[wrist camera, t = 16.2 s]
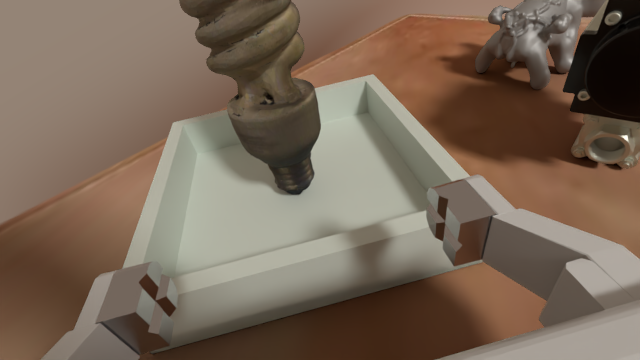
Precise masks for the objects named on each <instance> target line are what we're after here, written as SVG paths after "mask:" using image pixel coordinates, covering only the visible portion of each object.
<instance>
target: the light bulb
mask: <svg viewBox="0 0 640 360" xmlns="http://www.w3.org/2000/svg"><path fill="white" fill-rule="evenodd" d="M179 1H180V6H181V8H182V10H183V11H184V12H185V13H187V14H188V15H190V16H192V17H196V18H198V19H199V22H200V23H199V27H198V29H197V30H196V32H195V35H196V39H197V40H198V42H199V43H200V44H202V45H204V46H206V47H209V48H211V49H212V51H211V53H210V56H209V57H208V58H207V61H206V63H207V66H208V68H209V69H210V70H211V71H213V72H215V73H218V74H223V75H227V76H230V77H232V78H233V79H234V80H235V81H236V82H237V84H238V94H237V95H236V96H235V97H234V98H232V99H231V100H230V101H229V103H228V105H227V112H228V115H229V118H230V120H231V123H232V126H233V128H234V130H235V132H236V134H237V136H238V138H239V140H240V142H241V144H242V146H243V147H244V148H245V150H246V151H247V152H248V153H249V154H250V155H252V156H253V157H255V158H257V159H259V160H261V161H262V162H264V163H266V164H268V167H269V169H270V170H271V171H272V173H273V175H274V177H275V183H276V184H277V187H278V188H279V189H281V190H284V191H286V192H287V193H289V194H293V195H300V194H301V193H302V192H303V190H306V189H307V188H308V187H309V186H310V183H311V181H312V180H313V178H314V174H315V173H314V170H313V166H312V162H311V159H310V158H311V150H312V148H313V146H314V144H315V143H316V141H317V139H318V137H319V134H320V130H321V122H320V114H319V108H318V101H317V97H316V92H315V88H314V86H313V85H312V84H311V83H310V82H308V81H306V80H301V79H298V78H291V72H290V71H291V68H292V66H294V65H295V64H296V63H297V62H298V61H299V59H300V58H301V56H302V54H303V52H304V42H303V39H302V37H301V36H300V34H299V33H298V32H297V30H298V26H299V23H300V16H299V11H298V9H297V8H296V6H295V4H294V3H292V2H291V0H179Z"/></svg>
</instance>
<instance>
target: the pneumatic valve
mask: <svg viewBox="0 0 640 360" xmlns="http://www.w3.org/2000/svg"><path fill="white" fill-rule="evenodd" d="M563 92H567V93H574V94H575V96H574V99H573V102H572V105H571V108H570V111H571V112H577V113H583V114H585V115H584V117H583V122H584V123H585V125H583V126H582V128H581V130H580V132H579V134H578V136H577V138H576V140H575V142H574V144H573V146H572V148H571V153H572V155H574V157H578V158H581V157H585V156H588V158H589V159H591V160H593V161H596V162H600V163H605V164H615V163H617V164H618V165H619V166H620V167H622V168H626V169H628V168H632V167H634V166H636V165H637V163H638V160H639V156H640V0H606V1H605V2H604V4H603V5H602V7H601V8H600V9H599V11H598V12H597V14H596V15H595V16H594V18H593V19H592V21H591V22H590V23H589V25H588V26H587V28H586V29H585V30H584V32H583V33H582V35H581V36H580V39H579V42H578V45H577V48H576V51H575V54H574V58H573V61H572V64H571V67H570V70H569V73H568V76H567V79H566V82H565V85H564V88H563Z"/></svg>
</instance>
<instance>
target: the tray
mask: <svg viewBox="0 0 640 360" xmlns="http://www.w3.org/2000/svg"><path fill="white" fill-rule="evenodd" d="M315 92H316V97H317V101H318V108H319V114H320V122H321V130H320V134H319V137H318V139H317V141H316V143H315V144H314V146H313V148H312V150H311V158H310V159H311V162H312V166H313V170H314V173H315V174H314V178H313V180H312V181H311V183H310V186H309V187H308V188H307V189H306V190H303V192H302V193H301V194H300V195H293V194H289V193H287V192H286V191H284V190H281V189H279V188H278V187H277V184H276V183H275V177H274V175H273V173H272V171H271V170H270V169H269V167H268V164H266V163H264V162H262V161H261V160H259V159H257V158H255V157H253V156H252V155H250V154H249V153H248V152H247V151H246V150H245V148H244V147H243V146H242V144H241V142H240V140H239V138H238V136H237V134H236V132H235V130H234V128H233V126H232V123H231V120H230V118H229V115H228V112H227V110H223V111H219V112H215V113H211V114H207V115H203V116H198V117H195V118H190V119H186V120H182V121H178V122H174V123H173V125H172V128H171V130H170V133H169V136H168V139H167V142H166V145H165V148H164V150H163V153H162V156H161V159H160V162H159V165H158V168H157V171H156V173H155V176H154V179H153V182H152V185H151V188H150V191H149V193H148V196H147V199H146V202H145V205H144V208H143V211H142V214H141V216H140V219H139V222H138V225H137V228H136V231H135V234H134V236H133V239H132V242H131V245H130V248H129V251H128V254H127V257H126V259H125V262H124V265H123V268H127V267H131V266H135V265H139V264H144V263H148V262H152V261H157V262H158V263H159V264H160V265H161V266H162V268H163V270H162V274H163V275H165V276H168V277H170V278H171V279H172V280H173V282H174V284H175V286H176V288H177V296H178V301H177V308H176V310H175V311H174V312H173V314H172V315H171V316H170V318H171V319H172V321H173V322H174V326H173V332H172V338H171V343H170V346H167V347H164V348H161V349H158V350H154V351H151V352H150V353H151V354H154V353H157V352H161V351H165V350H168V349H172V348H175V347H179V346H182V345H186V344H190V343H193V342H197V341H200V340H204V339H208V338H211V337H215V336H218V335H222V334H226V333H229V332H233V331H236V330H240V329H244V328H247V327H251V326H254V325H258V324H262V323H265V322H269V321H272V320H276V319H280V318H283V317H287V316H290V315H294V314H298V313H301V312H305V311H308V310H312V309H316V308H319V307H323V306H326V305H330V304H334V303H337V302H341V301H344V300H348V299H352V298H355V297H359V296H362V295H366V294H370V293H373V292H377V291H380V290H384V289H388V288H391V287H395V286H398V285H402V284H406V283H409V282H413V281H416V280H420V279H424V278H427V277H431V276H434V275H438V274H442V273H445V272H449V271H452V270H456V269H460V268H463V267H467V266H470V265H474V264H478V263H481V262H483V261H482V260H478V261H474V262H470V263H466V264H462V265H458V266H453V264H452V263H451V261H450V260H449V258H448V257H447V255H446V254H445V252H444V251H443V249H442V248H443V241H441V240H439V239H437V238H435V237H434V235H433V233H432V232H431V230H430V228H429V225H428V222H427V217H426V208H427V207H428V206H429V205H430V201H429V200H428V199H427V191H428V189H429V188H430V187H434V186H438V185H441V184H445V183H449V182H452V181H456V180H461V179H463V178H467V177H470V176H469V175H468V174H467V172H466V171H465V170H464V169H463V168H462V167H461V166H460V165H459V164H458V163H457V162H456V161H455V160H454V159H453V158H452V157H451V156H450V155H449V154H448V152H447V151H446V150H445V149H444V148H443V147H442V146H441V145H440V144H439V143H438V142H437V141H436V140H435V139H434V138H433V137H432V136H431V135H430V134H429V132H428V131H427V130H426V129H425V128H424V127H423V126H422V125H421V124H420V123H419V122H418V121H417V120H416V119H415V118H414V117H413V116H412V115H411V114H410V112H409V111H408V110H407V109H406V108H405V107H404V106H403V105H402V104H401V103H400V102H399V101H398V100H397V99H396V98H395V97H394V96H393V95H392V94H391V92H390V91H389V90H388V89H387V88H386V87H385V86H384V85H383V84H382V83H381V82H380V81H379V80H378V79H377V78H376V77H375V76H374V75H373V74H372V75H368V76H364V77H360V78H356V79H352V80H348V81H343V82H339V83H335V84H331V85H327V86H323V87H319V88H315ZM123 268H122V269H123Z"/></svg>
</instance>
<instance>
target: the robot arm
mask: <svg viewBox="0 0 640 360" xmlns="http://www.w3.org/2000/svg"><path fill="white" fill-rule="evenodd" d="M427 199H428V200H429V201H430V205H429V206H428V207H427V208H426V217H427V222H428V225H429V228H430V230H431V232H432V233H433V235H434V237H435V238H437V239H439V240H441V241H443V248H442V249H443V251H444V252H445V254H446V255H447V257H448V258H449V260H450V261H451V263H452V264H453V266H458V265H462V264H466V263H470V262H474V261H478V260H482V261H483V262H484V263H486V264H488V265H489V266H491V267H493V268H494V269H496V270H497V271H499V272H501V273H502V274H504V275H506V276H507V277H509V278H510V279H512V280H514V281H515V282H517V283H518V284H520V285H522V286H523V287H525V288H527V289H528V290H530V291H531V292H533V293H535V294H536V295H538V296H540V297H541V298H543V299H544V300H546V301H547V302H546V304H545V306H544V308H543V310H542V312H541V314H540V317H539V321H540V322H541V323H542V324H543V326H544V328H541V329H538V330H534V331H531V332H527V333H524V334H521V335H517V336H514V337H510V338H507V339H503V340H500V341H497V342H493V343H490V344H486V345H483V346H480V347H476V348H473V349H469V350H466V351H462V352H459V353H456V354H452V355H449V356H445V357H442V358H439V359H435V360H640V259H639V258H637V257H636V256H635V255H634V254H632V253H631V252H630V251H629V250H628V249H626V248H625V247H624V246H623V245H620V244H617V243H614V242H612V241H609V240H606V239H603V238H601V237H598V236H595V235H593V234H590V233H587V232H584V231H582V230H579V229H576V228H573V227H571V226H568V225H565V224H562V223H560V222H557V221H554V220H551V219H549V218H546V217H543V216H541V215H538V214H535V213H532V212H530V211H527V210H524V209H517V210H516V209H515V208H514V207H513V206H512V205H511V204H510V203H509V202H508V201H507V200H506V199H505V198H504V197H503V196H502V195H501V194H500V193H499V192H498V191H497V190H496V189H495V188H494V187H493V186H491V185H490V184H489V183H488V182H487V181H486V180H485V179H484V178H483V177H482V176H480V175H474V176H470V177H467V178H463V179H461V180H456V181H452V182H449V183H445V184H441V185H438V186H434V187H430V188H429V189H428V191H427ZM162 270H163V268H162V266H161V265H160V264H159V263H158V262H157V261H152V262H148V263H144V264H139V265H135V266H131V267H127V268H123V269H119V270H116V271H112V272H107V273H103V274H100V275H99V276H98V277H97V278H96V279H95V280H94V283H93V285H92V287H91V290H90V292H89V295H88V297H87V299H86V302H85V304H84V306H83V309H82V311H81V313H80V316H79V318H78V320H77V323H76V325H75V328H74V330H72V331H69V332H67V333H66V334H65V335H64V336H63V337H62V338H61V339H60V340H59V341H58V342H57V343H56V344H55V345H54V346H53V347H52V348H51V349H50V350H49V351H48V352H47V353H46V354H45V355H44V356H43V357H42V358H41V359H40V360H138V359H139V358H140V356H139V355H141V354H145V353H148V352H151V351H154V350H158V349H161V348H164V347H167V346H170V343H171V338H172V332H173V326H174V322H173V321H172V319H171V318H170V316H171V315H172V314H173V312H174V311H175V310H176V308H177V301H178V296H177V288H176V286H175V284H174V282H173V280H172V279H171V278H170V277H168V276H165V275H163V274H162Z"/></svg>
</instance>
